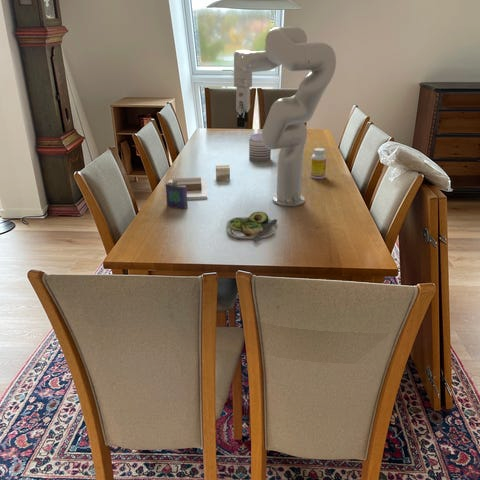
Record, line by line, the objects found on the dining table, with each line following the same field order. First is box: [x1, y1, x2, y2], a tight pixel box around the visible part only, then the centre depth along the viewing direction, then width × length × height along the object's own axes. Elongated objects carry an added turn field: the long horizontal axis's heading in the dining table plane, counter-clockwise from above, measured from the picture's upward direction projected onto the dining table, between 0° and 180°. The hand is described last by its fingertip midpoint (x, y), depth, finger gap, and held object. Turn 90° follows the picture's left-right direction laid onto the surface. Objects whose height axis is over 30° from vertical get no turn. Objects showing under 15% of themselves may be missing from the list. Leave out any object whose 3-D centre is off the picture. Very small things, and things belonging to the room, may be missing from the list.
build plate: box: [168, 178, 208, 201], centre depth 196 cm, size 22×16×1 cm
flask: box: [165, 180, 189, 210], centre depth 177 cm, size 9×3×11 cm, turn 63°
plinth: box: [171, 176, 202, 191], centre depth 195 cm, size 8×12×3 cm, turn 96°
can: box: [248, 133, 272, 164], centre depth 234 cm, size 11×11×12 cm
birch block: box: [215, 164, 231, 182], centre depth 208 cm, size 4×6×6 cm
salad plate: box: [226, 211, 278, 242], centre depth 158 cm, size 19×18×5 cm
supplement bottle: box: [309, 147, 327, 180], centre depth 209 cm, size 7×7×13 cm
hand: (242, 124), depth 199 cm, fingers open, 9 cm apart
